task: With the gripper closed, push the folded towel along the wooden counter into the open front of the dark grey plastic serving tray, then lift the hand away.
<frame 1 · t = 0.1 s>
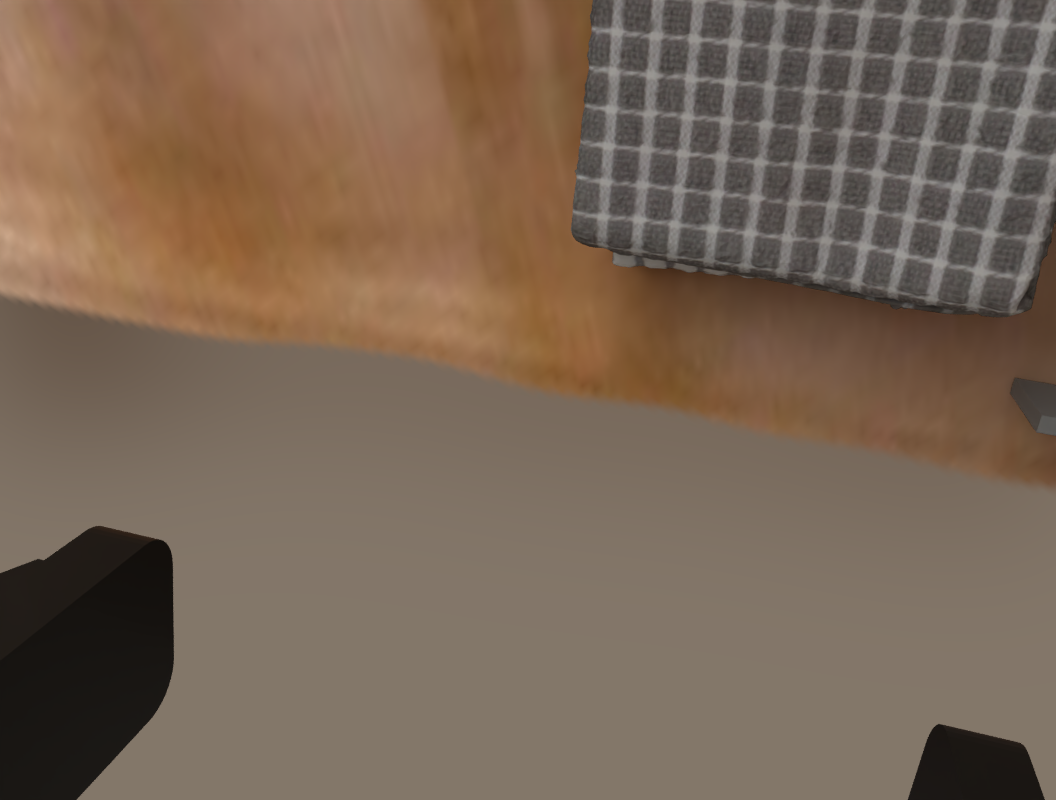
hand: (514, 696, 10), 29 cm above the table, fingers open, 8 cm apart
towel: (833, 13, 34), on the table
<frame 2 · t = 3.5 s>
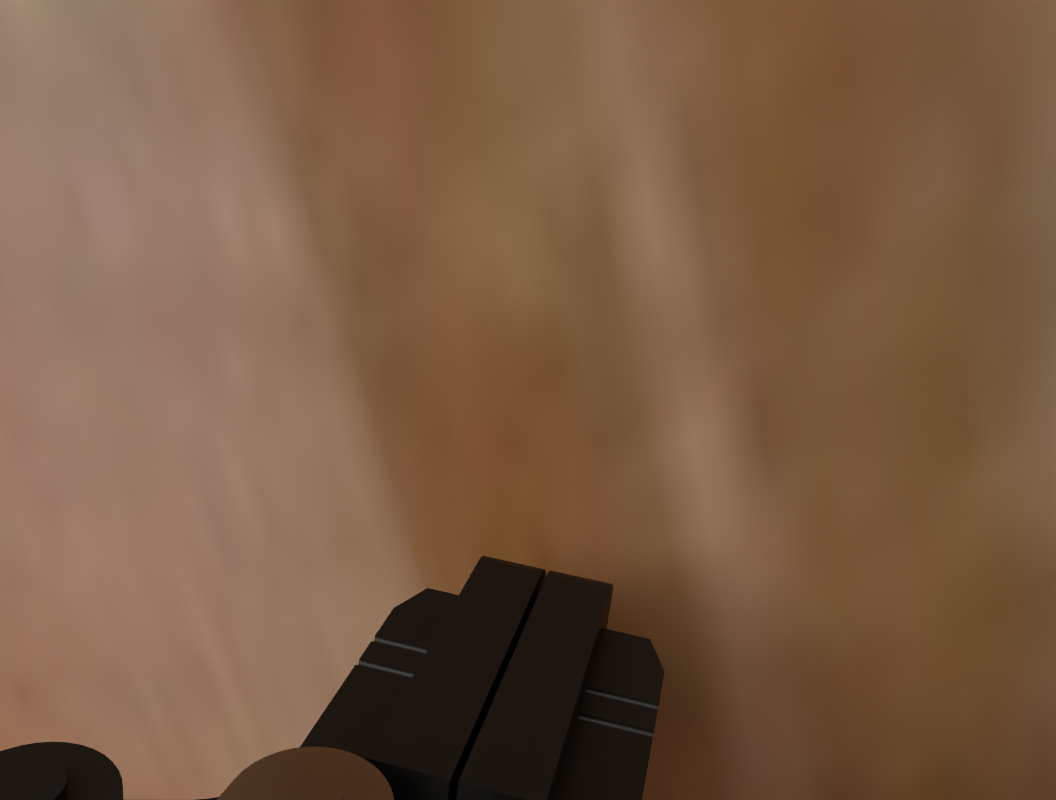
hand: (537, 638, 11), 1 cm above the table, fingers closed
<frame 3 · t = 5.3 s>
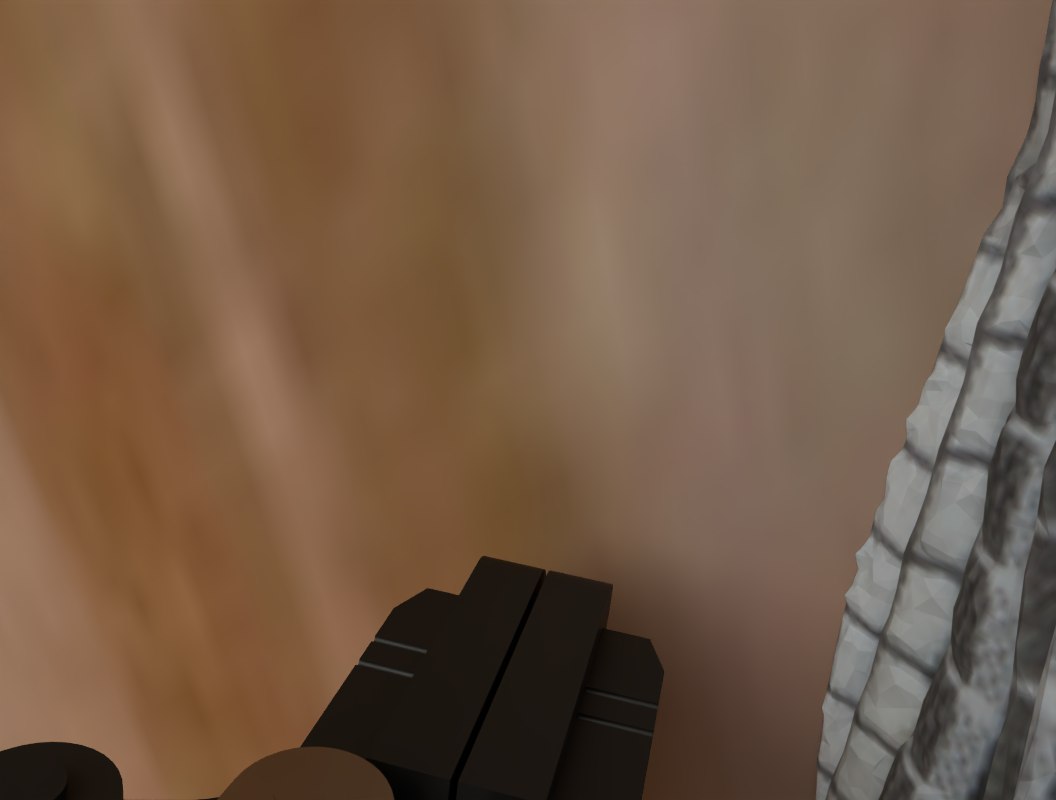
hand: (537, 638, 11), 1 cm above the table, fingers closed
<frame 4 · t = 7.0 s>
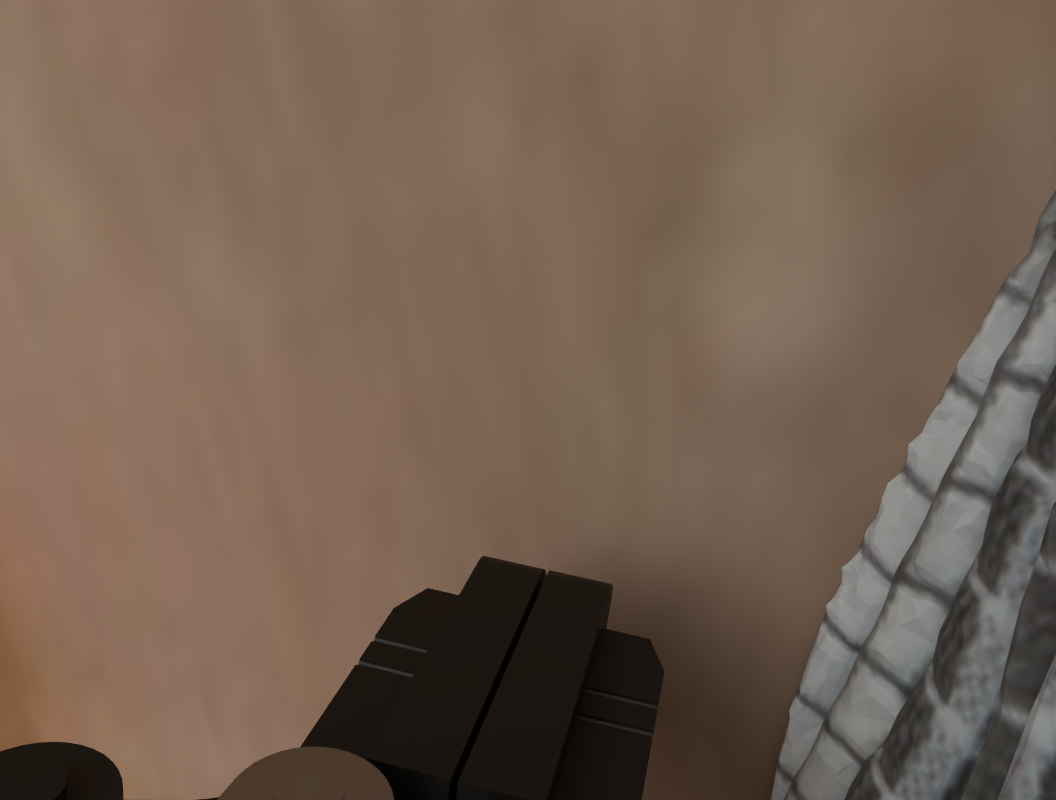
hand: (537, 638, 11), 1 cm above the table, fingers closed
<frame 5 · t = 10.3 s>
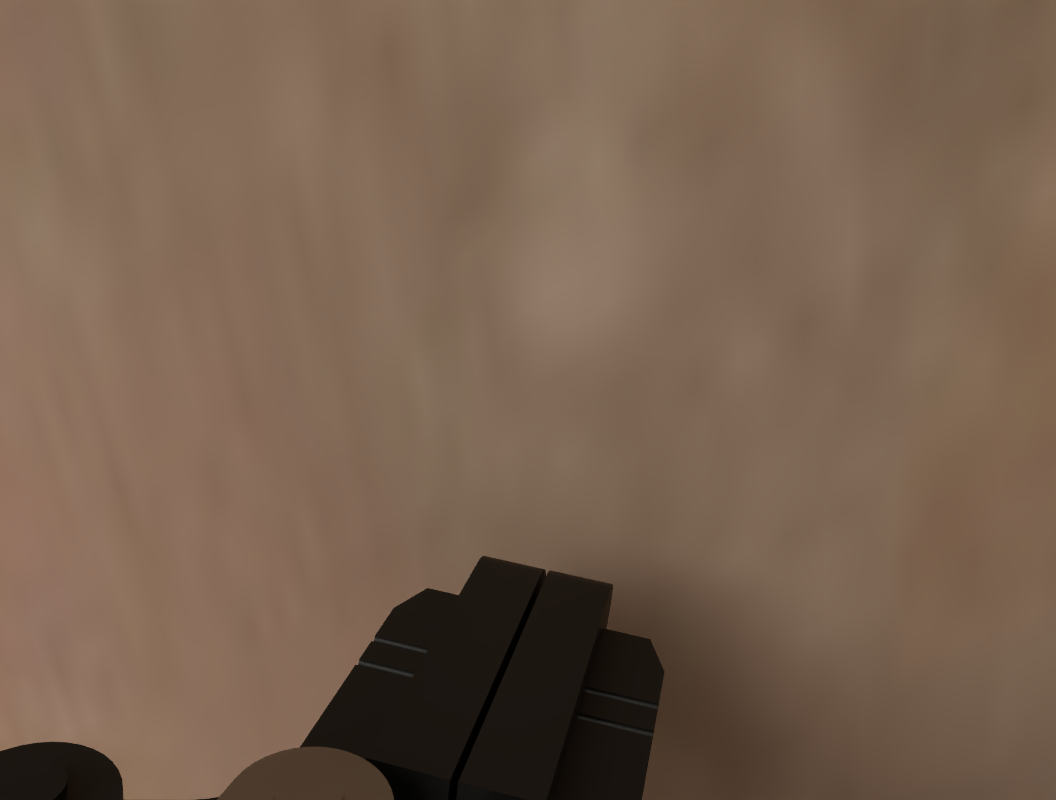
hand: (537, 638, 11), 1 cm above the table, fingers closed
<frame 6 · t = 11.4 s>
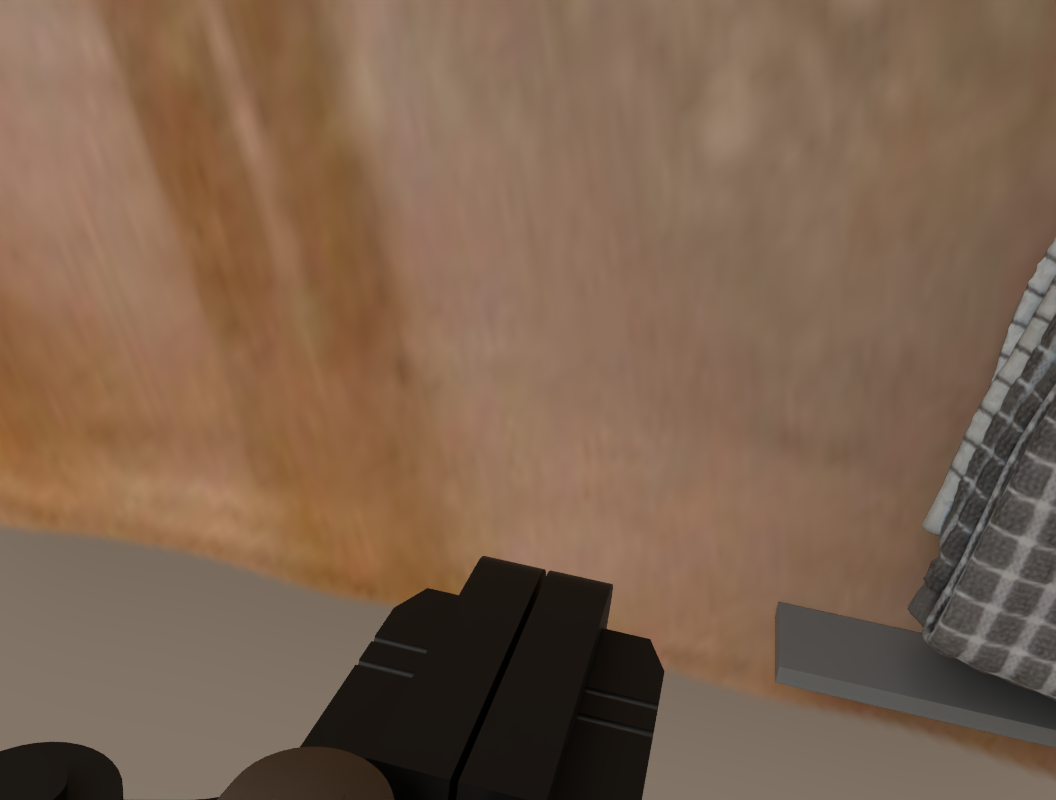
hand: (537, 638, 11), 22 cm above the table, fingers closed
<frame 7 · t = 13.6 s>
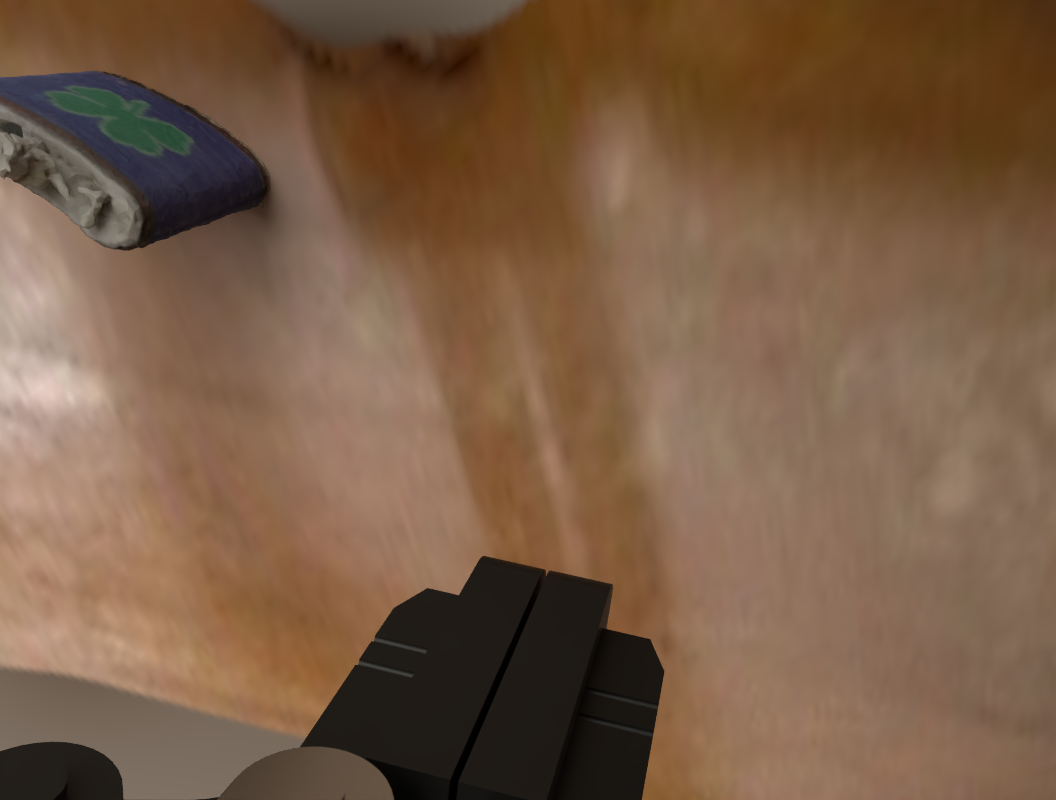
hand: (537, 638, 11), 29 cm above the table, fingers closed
flask: (178, 137, 42), on the table
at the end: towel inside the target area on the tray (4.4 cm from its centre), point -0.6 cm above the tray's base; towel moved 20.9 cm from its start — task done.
